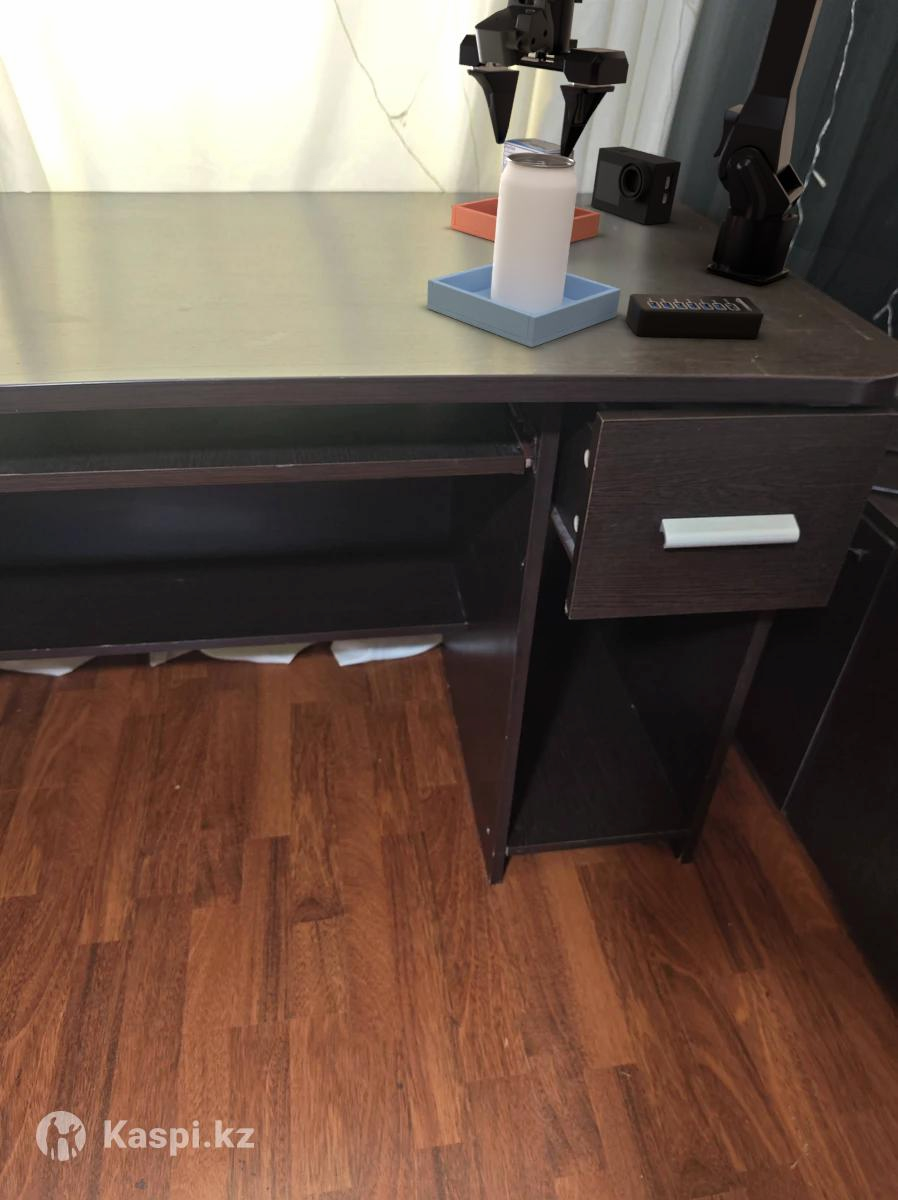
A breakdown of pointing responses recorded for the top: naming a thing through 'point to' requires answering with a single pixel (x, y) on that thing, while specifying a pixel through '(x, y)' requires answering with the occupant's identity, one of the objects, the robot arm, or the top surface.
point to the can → (533, 231)
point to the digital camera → (635, 184)
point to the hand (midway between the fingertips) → (531, 150)
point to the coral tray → (483, 218)
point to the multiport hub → (693, 316)
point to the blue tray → (473, 305)
